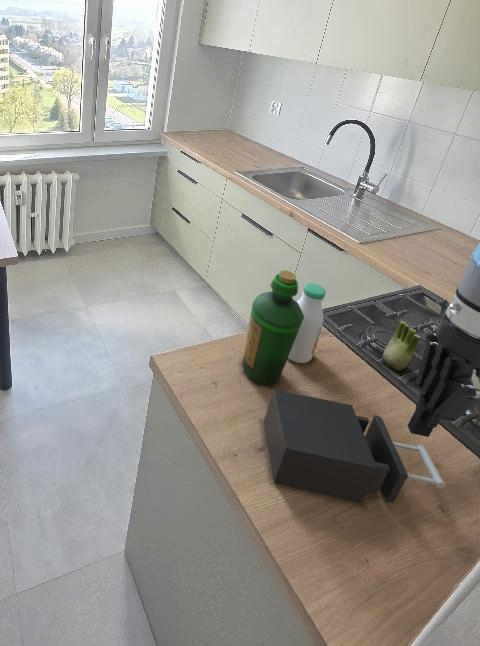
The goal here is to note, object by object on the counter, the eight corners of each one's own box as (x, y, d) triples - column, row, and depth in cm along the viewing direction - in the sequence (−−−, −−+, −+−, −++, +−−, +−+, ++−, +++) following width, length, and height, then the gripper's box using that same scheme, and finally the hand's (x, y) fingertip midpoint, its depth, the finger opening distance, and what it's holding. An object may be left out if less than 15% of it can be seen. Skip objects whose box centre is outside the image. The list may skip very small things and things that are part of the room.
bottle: (254, 348, 107) (278, 255, 95) (293, 376, 99) (325, 279, 87) (228, 367, 101) (251, 270, 89) (267, 398, 93) (297, 297, 82)
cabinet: (338, 437, 85) (352, 404, 81) (360, 503, 74) (377, 468, 70) (263, 421, 88) (273, 389, 84) (273, 482, 76) (285, 448, 72)
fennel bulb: (406, 376, 100) (425, 338, 96) (383, 369, 102) (400, 331, 97) (401, 359, 105) (418, 322, 100) (378, 353, 107) (394, 316, 102)
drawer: (411, 452, 82) (425, 425, 79) (442, 515, 72) (460, 487, 68) (296, 428, 86) (306, 401, 82) (310, 485, 75) (322, 456, 72)
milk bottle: (303, 369, 101) (325, 303, 93) (273, 351, 106) (291, 286, 98) (316, 353, 106) (338, 289, 98) (287, 337, 111) (305, 274, 103)
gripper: (425, 295, 70) (379, 395, 79) (472, 353, 58) (411, 462, 68) (476, 303, 68) (423, 404, 78) (534, 363, 57) (463, 473, 66)
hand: (417, 431), depth 73 cm, fingers closed
